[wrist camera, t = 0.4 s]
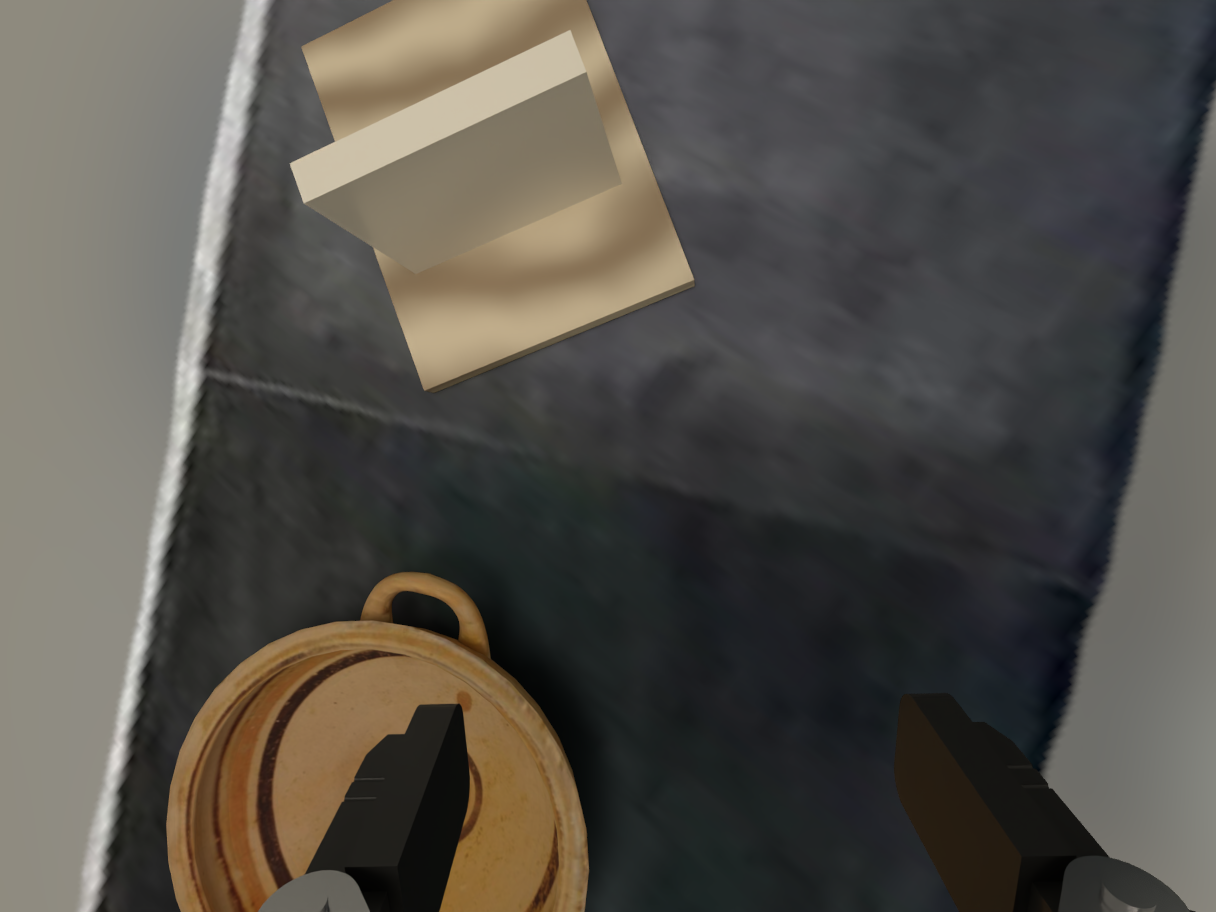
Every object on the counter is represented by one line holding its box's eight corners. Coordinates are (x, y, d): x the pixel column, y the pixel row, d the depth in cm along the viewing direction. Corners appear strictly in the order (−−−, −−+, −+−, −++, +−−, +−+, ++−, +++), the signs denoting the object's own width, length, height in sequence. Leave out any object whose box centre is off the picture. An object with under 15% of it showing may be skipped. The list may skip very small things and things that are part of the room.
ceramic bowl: (561, 1057, 43) (528, 1192, 35) (220, 942, 46) (119, 1041, 39) (652, 599, 42) (639, 631, 34) (299, 518, 46) (213, 530, 38)
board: (314, 60, 46) (301, 46, 44) (560, -63, 43) (554, -81, 42) (433, 392, 44) (424, 390, 43) (694, 286, 42) (693, 279, 40)
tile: (609, 151, 41) (568, 26, 29) (621, 183, 41) (586, 71, 29) (404, 242, 43) (288, 160, 31) (415, 274, 43) (303, 203, 31)
